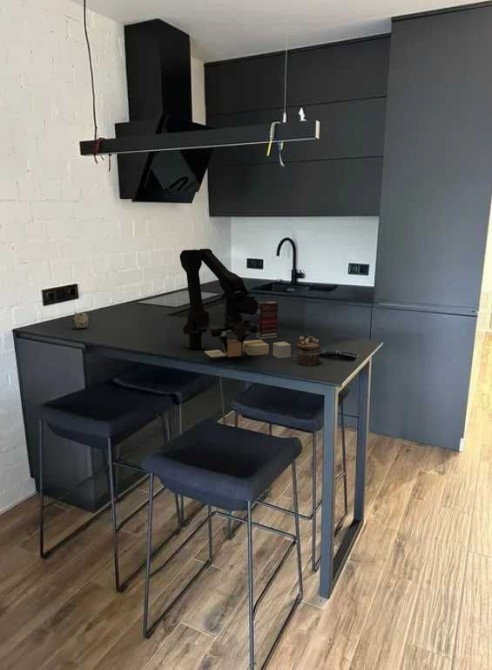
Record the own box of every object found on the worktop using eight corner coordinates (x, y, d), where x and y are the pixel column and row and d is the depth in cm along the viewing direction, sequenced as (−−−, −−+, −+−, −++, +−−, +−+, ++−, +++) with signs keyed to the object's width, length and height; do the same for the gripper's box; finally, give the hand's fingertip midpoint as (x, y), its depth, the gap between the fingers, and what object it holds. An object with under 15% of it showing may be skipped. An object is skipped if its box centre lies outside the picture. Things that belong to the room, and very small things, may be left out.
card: (204, 352, 187) (204, 351, 187) (218, 350, 190) (218, 349, 190) (211, 357, 180) (211, 356, 180) (225, 356, 183) (225, 354, 183)
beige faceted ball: (85, 335, 227) (95, 317, 230) (85, 332, 219) (95, 314, 222) (67, 326, 225) (77, 308, 228) (66, 323, 217) (77, 305, 220)
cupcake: (289, 360, 178) (290, 335, 175) (309, 357, 182) (311, 332, 180) (305, 367, 170) (306, 340, 167) (326, 364, 175) (327, 337, 172)
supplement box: (272, 335, 216) (273, 300, 213) (277, 337, 212) (278, 302, 208) (255, 336, 213) (256, 301, 209) (259, 339, 209) (260, 303, 205)
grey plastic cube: (272, 355, 185) (273, 342, 184) (284, 353, 187) (284, 341, 186) (278, 358, 181) (279, 346, 179) (290, 357, 183) (290, 344, 181)
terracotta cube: (223, 353, 180) (223, 340, 179) (235, 352, 182) (236, 339, 181) (228, 356, 176) (228, 343, 175) (241, 355, 178) (241, 342, 177)
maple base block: (242, 350, 191) (242, 341, 190) (260, 349, 194) (261, 339, 193) (249, 356, 184) (249, 346, 183) (268, 354, 187) (268, 344, 186)
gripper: (216, 317, 164) (217, 360, 168) (265, 313, 172) (264, 354, 176) (206, 311, 174) (206, 352, 178) (252, 308, 182) (251, 347, 185)
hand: (232, 351), depth 179 cm, fingers closed on terracotta cube, 5 cm apart
